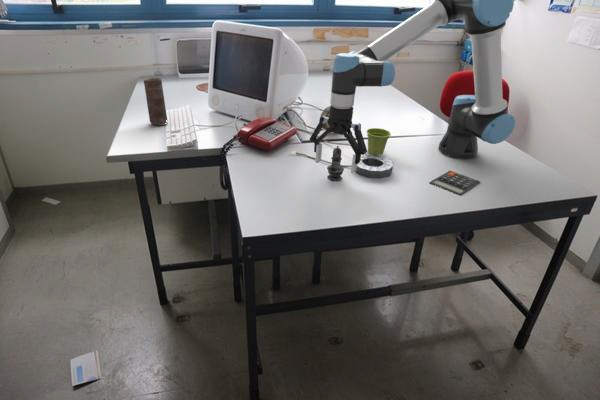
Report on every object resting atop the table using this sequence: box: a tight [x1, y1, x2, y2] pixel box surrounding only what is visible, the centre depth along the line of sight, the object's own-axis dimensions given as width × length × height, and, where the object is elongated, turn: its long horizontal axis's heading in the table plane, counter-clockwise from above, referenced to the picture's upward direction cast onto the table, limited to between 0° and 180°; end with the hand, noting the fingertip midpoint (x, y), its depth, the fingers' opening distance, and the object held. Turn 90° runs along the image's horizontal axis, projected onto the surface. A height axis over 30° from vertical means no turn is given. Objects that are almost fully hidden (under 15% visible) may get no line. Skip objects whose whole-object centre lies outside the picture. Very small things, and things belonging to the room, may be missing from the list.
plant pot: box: [366, 127, 392, 156], centre depth 161 cm, size 9×9×9 cm
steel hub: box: [354, 153, 394, 180], centre depth 148 cm, size 14×14×3 cm
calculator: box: [429, 170, 481, 196], centre depth 143 cm, size 12×1×15 cm
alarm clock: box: [320, 105, 334, 134], centre depth 177 cm, size 11×5×16 cm, turn 123°
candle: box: [143, 76, 168, 126], centre depth 176 cm, size 8×7×20 cm
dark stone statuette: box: [326, 145, 345, 182], centre depth 139 cm, size 6×6×12 cm
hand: (335, 166), depth 140 cm, fingers open, 13 cm apart
